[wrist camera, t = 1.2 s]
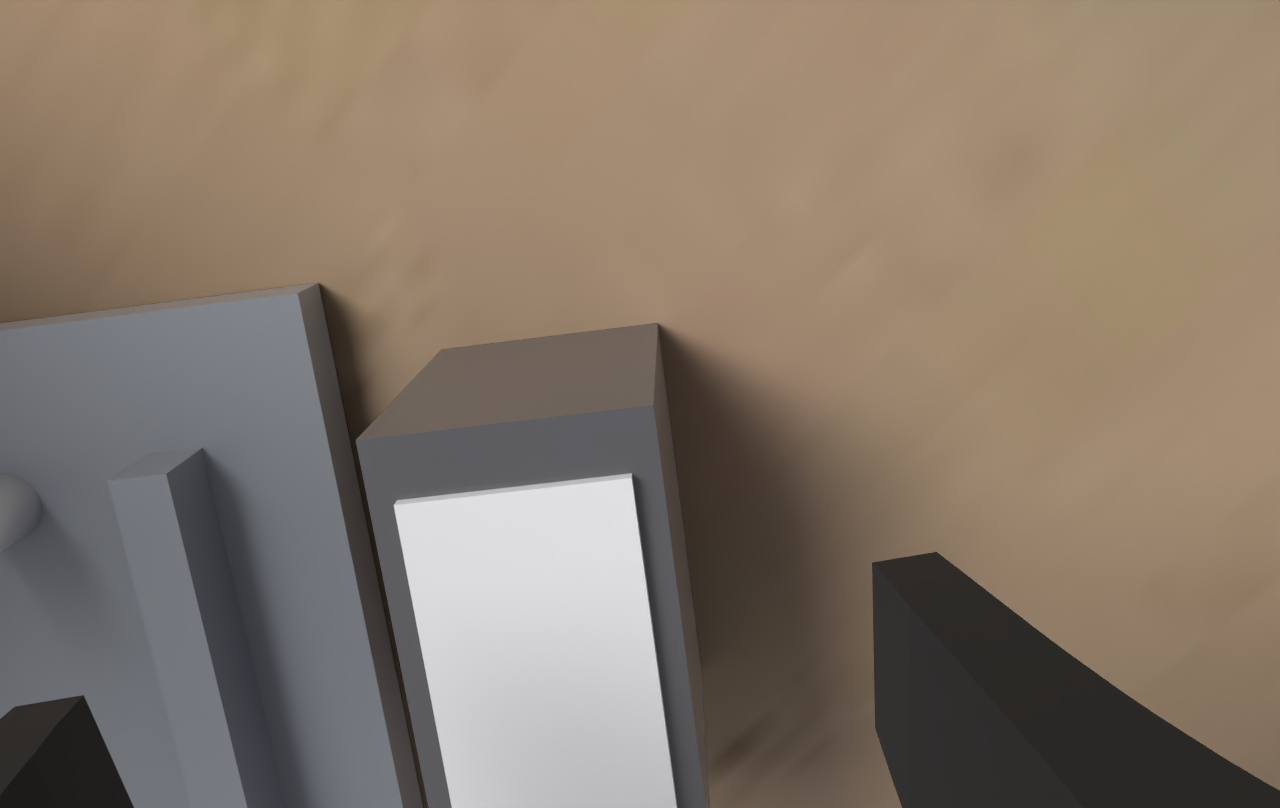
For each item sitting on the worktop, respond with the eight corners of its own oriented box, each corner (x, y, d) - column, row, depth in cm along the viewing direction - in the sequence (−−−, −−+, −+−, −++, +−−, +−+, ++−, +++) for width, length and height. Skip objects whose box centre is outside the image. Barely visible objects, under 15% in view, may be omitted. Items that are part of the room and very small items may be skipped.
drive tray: (464, 1015, 25) (424, 1195, 20) (-69, 1063, 25) (-211, 1247, 21) (318, 283, 21) (232, 325, 17) (-309, 362, 21) (-540, 422, 17)
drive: (701, 669, 22) (713, 873, 16) (502, 690, 23) (442, 898, 17) (657, 322, 21) (653, 408, 15) (441, 348, 21) (351, 444, 15)
